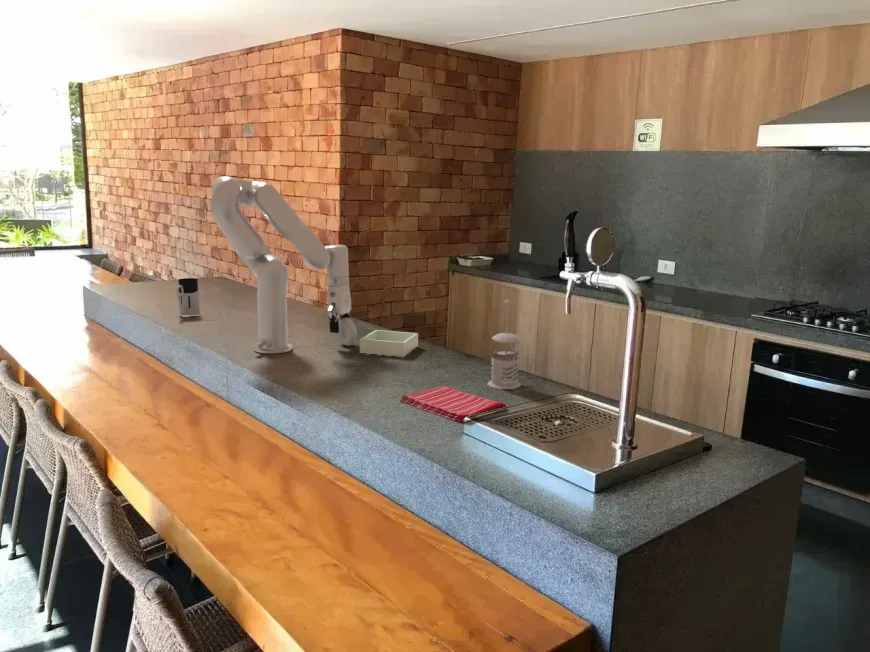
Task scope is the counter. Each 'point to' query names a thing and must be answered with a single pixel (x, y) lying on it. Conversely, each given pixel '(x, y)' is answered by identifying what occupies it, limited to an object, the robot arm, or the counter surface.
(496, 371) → the french press
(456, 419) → the dish towel
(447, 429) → the counter surface
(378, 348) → the bin
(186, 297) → the glass holder
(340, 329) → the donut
